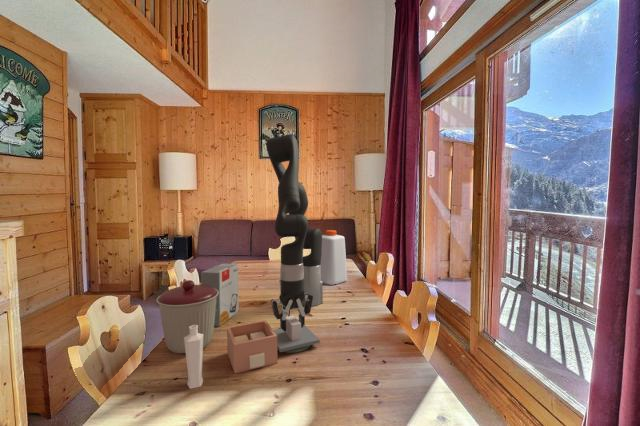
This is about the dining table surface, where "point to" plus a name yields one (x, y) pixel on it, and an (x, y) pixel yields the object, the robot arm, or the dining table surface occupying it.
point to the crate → (251, 346)
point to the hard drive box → (223, 290)
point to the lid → (294, 336)
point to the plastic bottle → (333, 258)
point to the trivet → (297, 349)
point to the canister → (187, 313)
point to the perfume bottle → (194, 357)
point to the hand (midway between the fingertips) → (292, 328)
